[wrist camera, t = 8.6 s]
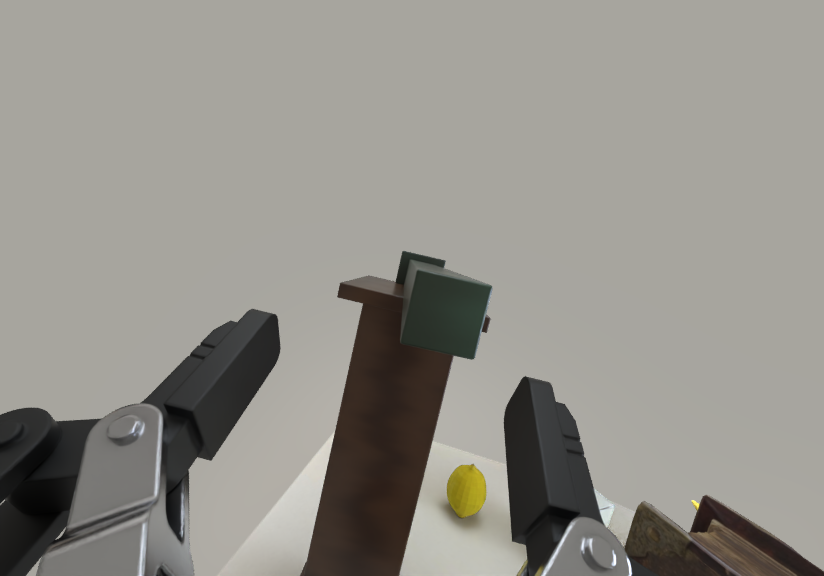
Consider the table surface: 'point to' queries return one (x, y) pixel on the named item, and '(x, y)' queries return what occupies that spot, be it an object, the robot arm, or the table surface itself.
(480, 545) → the table surface
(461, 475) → the fruit
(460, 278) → the rod
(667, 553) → the book
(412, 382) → the pedestal
